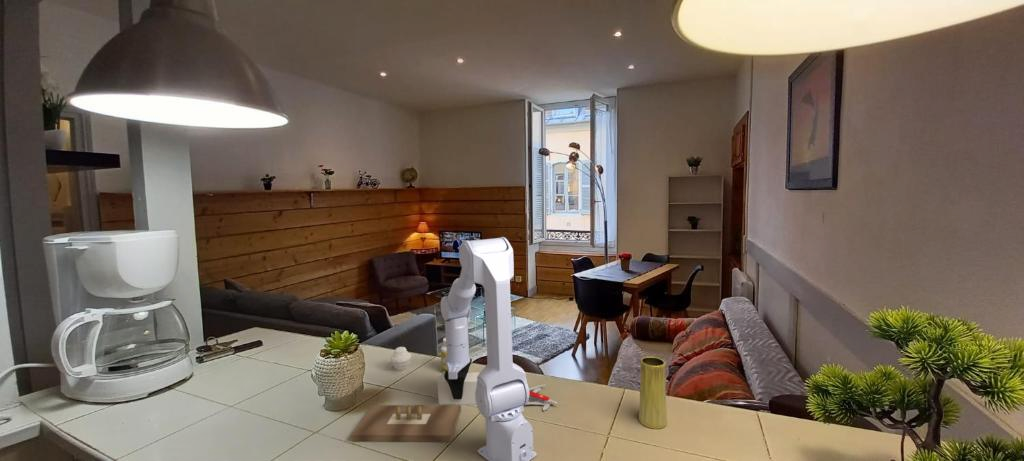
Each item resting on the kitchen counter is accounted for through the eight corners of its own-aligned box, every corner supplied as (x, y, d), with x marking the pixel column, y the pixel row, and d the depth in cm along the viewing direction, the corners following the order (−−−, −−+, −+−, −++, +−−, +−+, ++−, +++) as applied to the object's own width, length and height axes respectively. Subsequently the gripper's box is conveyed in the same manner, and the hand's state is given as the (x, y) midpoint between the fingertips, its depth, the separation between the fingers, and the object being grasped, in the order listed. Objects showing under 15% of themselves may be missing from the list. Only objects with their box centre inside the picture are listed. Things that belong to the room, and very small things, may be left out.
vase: (649, 431, 86) (649, 368, 85) (633, 416, 92) (633, 357, 91) (673, 426, 88) (673, 364, 87) (656, 411, 94) (656, 353, 92)
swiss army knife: (569, 397, 102) (569, 389, 102) (541, 422, 91) (541, 413, 91) (533, 385, 109) (532, 378, 109) (502, 407, 98) (502, 399, 98)
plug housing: (480, 394, 105) (479, 372, 104) (477, 404, 100) (476, 381, 99) (443, 394, 105) (442, 372, 105) (438, 404, 100) (437, 381, 100)
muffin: (391, 366, 124) (389, 344, 123) (411, 363, 126) (410, 341, 125) (391, 374, 118) (389, 352, 117) (412, 371, 120) (411, 349, 119)
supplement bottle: (456, 374, 116) (454, 342, 115) (439, 373, 118) (437, 341, 117) (462, 366, 122) (460, 335, 121) (445, 365, 123) (444, 335, 122)
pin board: (461, 410, 97) (460, 393, 97) (451, 441, 85) (450, 422, 85) (373, 411, 98) (372, 393, 98) (351, 441, 86) (349, 422, 86)
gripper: (447, 332, 108) (450, 379, 110) (434, 353, 94) (437, 408, 95) (473, 331, 108) (475, 379, 109) (464, 353, 94) (466, 408, 95)
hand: (459, 392), depth 102 cm, fingers closed on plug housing, 5 cm apart
